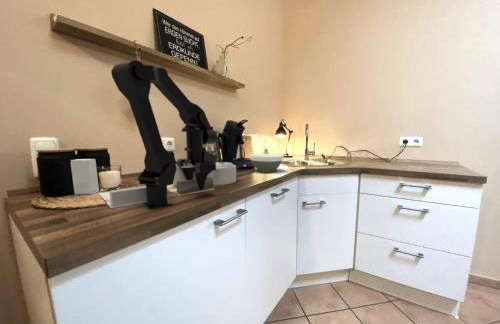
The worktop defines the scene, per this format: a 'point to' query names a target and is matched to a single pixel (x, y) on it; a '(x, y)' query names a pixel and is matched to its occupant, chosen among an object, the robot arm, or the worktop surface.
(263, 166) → the bowl
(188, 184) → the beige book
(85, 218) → the worktop surface
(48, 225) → the worktop surface
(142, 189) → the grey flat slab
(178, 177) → the cup
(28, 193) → the worktop surface
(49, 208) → the worktop surface
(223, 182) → the lumpy-topped squat cylinder
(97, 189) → the skincare box
